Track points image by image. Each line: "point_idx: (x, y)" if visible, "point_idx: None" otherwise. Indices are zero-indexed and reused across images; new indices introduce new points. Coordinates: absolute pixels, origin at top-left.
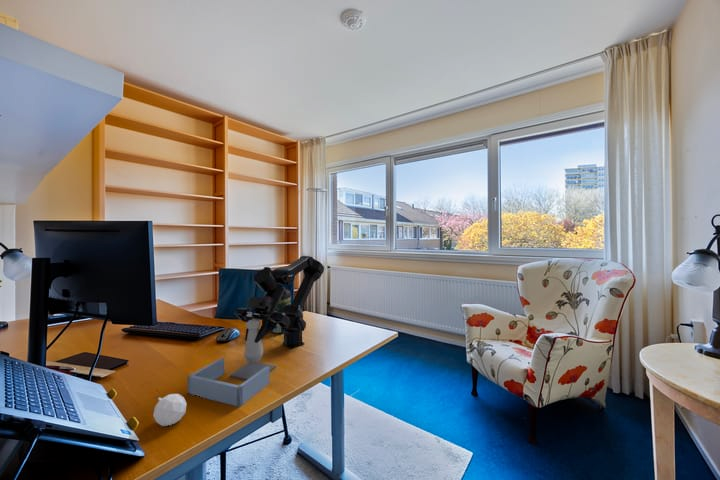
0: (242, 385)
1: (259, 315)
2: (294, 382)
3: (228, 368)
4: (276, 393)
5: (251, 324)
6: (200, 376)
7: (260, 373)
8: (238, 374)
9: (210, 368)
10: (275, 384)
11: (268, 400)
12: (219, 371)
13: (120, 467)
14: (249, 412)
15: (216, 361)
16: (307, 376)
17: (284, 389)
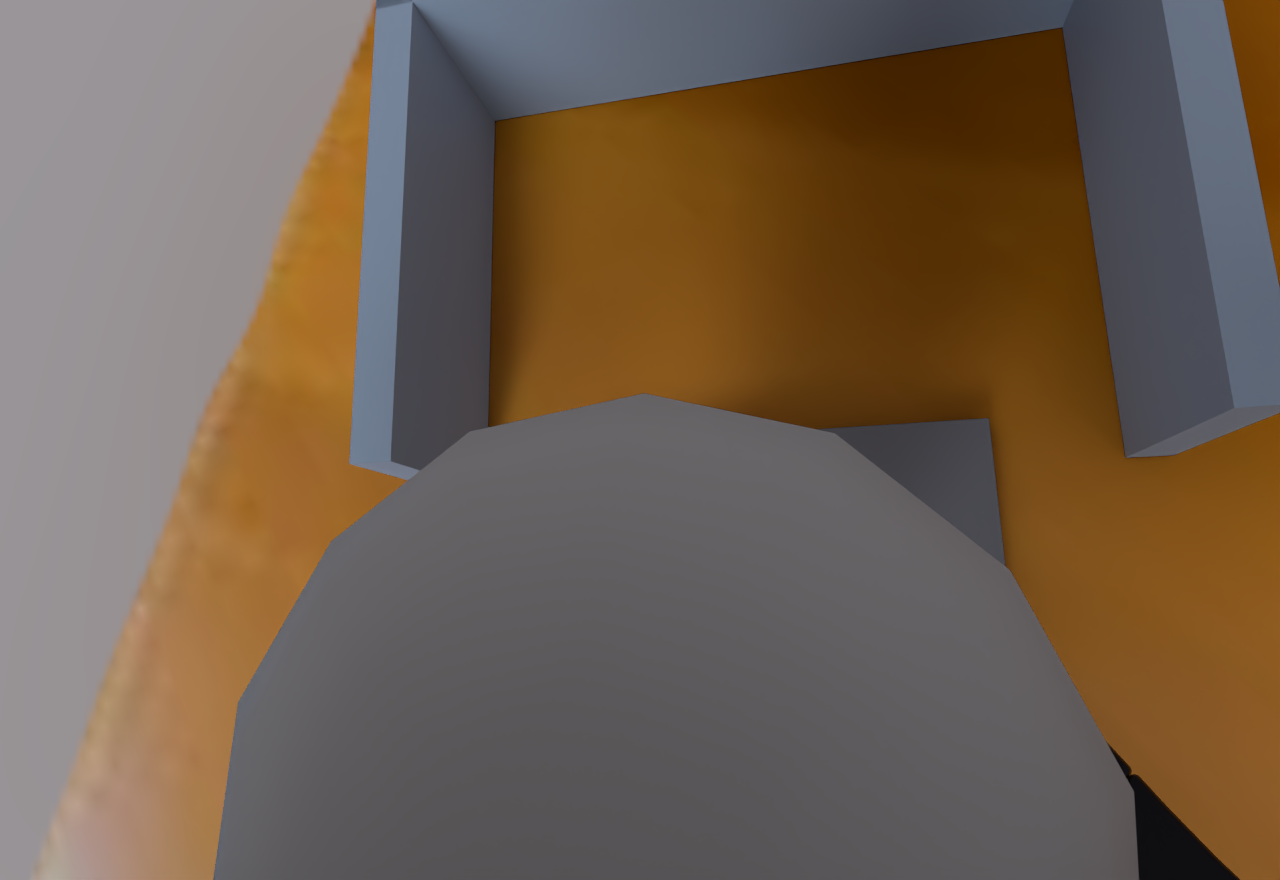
0: (381, 16)
1: None
2: (236, 601)
3: (1220, 598)
4: (301, 372)
5: (467, 443)
6: (1123, 8)
7: (363, 289)
8: (885, 470)
9: (1164, 142)
10: (386, 496)
11: (310, 263)
12: (1141, 352)
13: None
14: (358, 89)
15: (1246, 261)
16: (165, 762)
17: (267, 455)
